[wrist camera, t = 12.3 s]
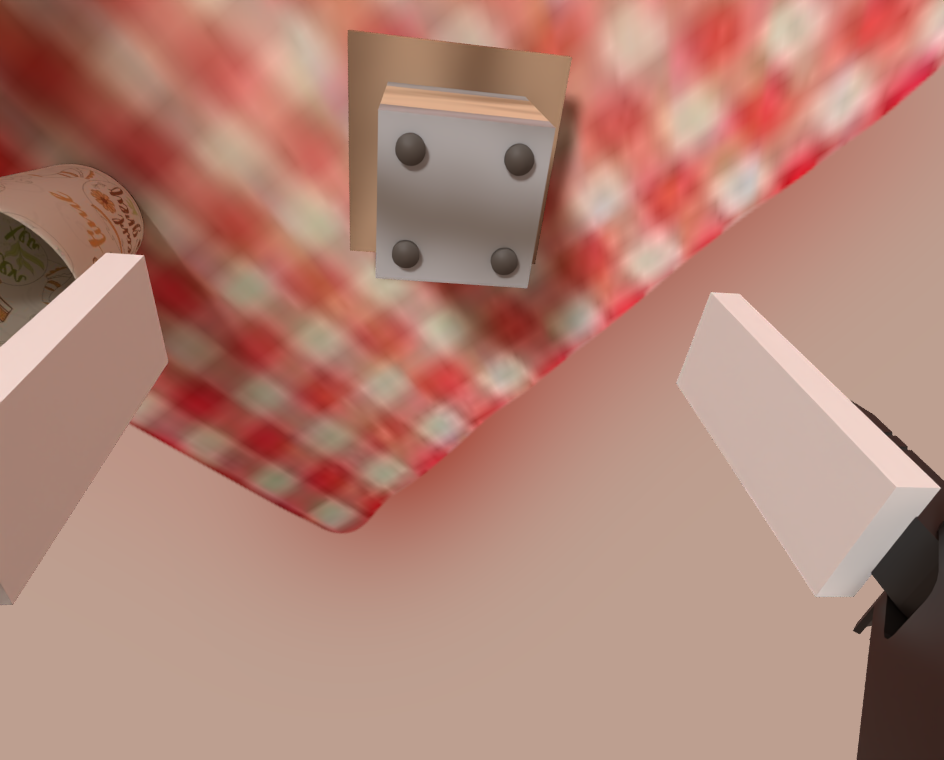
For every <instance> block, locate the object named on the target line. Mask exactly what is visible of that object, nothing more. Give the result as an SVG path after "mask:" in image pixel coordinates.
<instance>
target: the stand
mask: <svg viewBox="0 0 944 760" xmlns="http://www.w3.org/2000/svg"><path fill="white" fill-rule="evenodd" d="M571 60H572V57H570V56H562V55H554V54H546V53H537V52H529V51H521V50H512V49H504V48H496V47H487V46H479V45H471V44H462V43H454V42H446V41H437V40H429V39H421V38H412V37H404V36H396V35H387V34H379V33H371V32H362V31H354V30H348V100H349V188H350V250H352V251H366V252H376V225H377V157H378V109H379V106H380V103H381V100H382V97H383V94H384V92H385V89H386V86H387V83H388V82H396V83H405V84H414V85H423V86H433V87H442V88H451V89H460V90H469V91H478V92H487V93H496V94H505V95H515V96H524V97H526V98H527V99H528V100H529V101H530V102H531V103H532V104H533V105H534V106H535V107H536V108H537V109H538V110H539V111H540V112H541V113H542V114H543V115H544V117H545V118H546V119H547V120H548V121H549V122H550V123H551V124H552V125H553V126H554V127H555V128H556V129H555V135H554V140H553V146H552V152H551V157H550V163H549V169H548V174H547V180H546V186H545V191H544V197H543V203H542V208H541V214H540V220H539V225H538V231H537V236H536V242H535V248H534V253H533V259H532V264H535V260H536V254H537V249H538V243H539V238H540V232H541V226H542V221H543V215H544V210H545V204H546V199H547V193H548V188H549V182H550V177H551V171H552V166H553V160H554V154H555V149H556V143H557V138H558V132H559V127H560V121H561V116H562V110H563V105H564V99H565V93H566V88H567V82H568V77H569V71H570V66H571Z"/></svg>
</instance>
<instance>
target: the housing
mask: <svg viewBox="0 0 944 760" xmlns="http://www.w3.org/2000/svg"><path fill="white" fill-rule="evenodd" d="M555 129H556V128H555V127H554V126H553V125H552V124H551V123H550V122H549V121H548V120H547V119H546V118H545V117H544V115H543V114H542V113H541V112H540V111H539V110H538V109H537V108H536V107H535V106H534V105H533V104H532V103H531V102H530V101H529V100H528V99H527V98H526V97H524V96H515V95H505V94H496V93H487V92H478V91H469V90H460V89H451V88H442V87H433V86H423V85H414V84H405V83H396V82H388V83H387V86H386V89H385V92H384V94H383V97H382V100H381V103H380V106H379V109H378V157H377V225H376V278H383V279H397V280H412V281H427V282H441V283H456V284H471V285H486V286H500V287H515V288H527V287H528V282H529V276H530V270H531V265H532V259H533V253H534V248H535V242H536V236H537V231H538V225H539V220H540V214H541V208H542V203H543V197H544V191H545V186H546V180H547V174H548V169H549V163H550V157H551V152H552V146H553V140H554V135H555Z"/></svg>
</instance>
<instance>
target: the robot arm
mask: <svg viewBox="0 0 944 760" xmlns="http://www.w3.org/2000/svg"><path fill="white" fill-rule="evenodd" d="M167 363H168V357H167V353H166V348H165V344H164V340H163V335H162V331H161V327H160V322H159V318H158V313H157V309H156V305H155V300H154V296H153V292H152V287H151V283H150V278H149V274H148V270H147V265H146V261H145V257H144V255H132V254H117V253H105V254H104V255H103V256H102V257H101V258H100V259H99V260H98V261H97V262H95V263H94V264H93V265H92V266H91V267H90V268H89V269H88V270H86V271H85V272H84V273H83V274H82V275H81V276H80V277H79V278H77V279H76V280H75V281H74V282H73V283H72V284H71V285H70V286H68V287H67V288H66V289H65V290H64V291H63V292H62V293H61V294H59V295H58V296H57V297H56V298H55V299H54V300H53V301H52V302H50V303H49V304H48V305H47V306H46V307H45V308H44V309H43V310H41V311H40V312H39V313H38V314H37V315H36V316H35V317H34V318H32V319H31V320H30V321H29V322H28V323H27V324H26V325H25V326H23V327H22V328H21V329H20V330H19V331H18V332H17V333H16V334H14V335H13V336H12V337H11V338H10V339H9V340H8V341H7V342H6V343H4V344H3V345H2V346H1V347H0V605H13V604H14V602H15V601H16V599H17V598H18V596H19V594H20V593H21V591H22V590H23V588H24V587H25V585H26V584H27V582H28V580H29V579H30V577H31V576H32V574H33V573H34V571H35V570H36V568H37V566H38V565H39V563H40V562H41V560H42V559H43V557H44V555H45V554H46V552H47V551H48V549H49V548H50V546H51V544H52V543H53V541H54V540H55V538H56V537H57V535H58V534H59V532H60V531H61V529H62V527H63V526H64V524H65V523H66V521H67V520H68V518H69V516H70V515H71V513H72V512H73V510H74V509H75V507H76V506H77V504H78V502H79V501H80V499H81V498H82V496H83V495H84V493H85V491H86V490H87V488H88V487H89V485H90V484H91V482H92V480H93V479H94V477H95V476H96V474H97V473H98V471H99V470H100V468H101V466H102V465H103V463H104V462H105V460H106V459H107V457H108V456H109V454H110V452H111V451H112V449H113V448H114V446H115V445H116V443H117V441H118V440H119V438H120V437H121V435H122V434H123V432H124V431H125V429H126V427H127V426H128V424H129V423H130V421H131V420H132V418H133V417H134V415H135V413H136V412H137V410H138V409H139V407H140V406H141V404H142V402H143V401H144V399H145V398H146V396H147V395H148V393H149V392H150V390H151V388H152V387H153V385H154V384H155V382H156V381H157V379H158V377H159V376H160V374H161V373H162V371H163V370H164V368H165V367H166V365H167ZM676 384H677V385H678V387H679V388H680V390H681V391H682V393H683V394H684V396H685V398H686V399H687V401H688V402H689V403H690V405H691V407H692V408H693V410H694V411H695V413H696V414H697V416H698V417H699V419H700V421H701V422H702V424H703V425H704V427H705V428H706V430H707V431H708V433H709V434H710V436H711V437H712V439H713V441H714V442H715V444H716V445H717V447H718V448H719V450H720V451H721V453H722V454H723V456H724V457H725V459H726V461H727V462H728V463H729V465H730V467H731V468H732V470H733V471H734V473H735V474H736V476H737V477H738V479H739V480H740V482H741V484H742V485H743V486H744V488H745V490H746V491H747V493H748V494H749V496H750V497H751V498H752V500H753V502H754V503H755V505H756V507H757V508H758V509H759V511H760V513H761V514H762V516H763V517H764V519H765V520H766V522H767V523H768V525H769V526H770V528H771V530H772V531H773V533H774V534H775V535H776V537H777V539H778V540H779V542H780V543H781V545H782V546H783V548H784V550H785V551H786V553H787V554H788V556H789V557H790V559H791V560H792V562H793V563H794V565H795V566H796V568H797V569H798V571H799V573H800V574H801V575H802V577H803V579H804V580H805V582H806V583H807V585H808V586H809V588H810V589H811V591H812V592H813V594H814V596H815V597H852V596H853V597H854V596H855V595H856V593H857V592H858V591H859V590H860V588H861V587H862V586H863V585H864V583H865V582H866V581H867V580H868V578H869V577H870V576H871V575H873V576H874V578H875V579H876V580H877V581H878V583H879V584H880V585H881V587H882V588H883V589H884V592H883V593H882V594H881V595H880V596H879V598H878V599H877V600H876V601H875V602H874V604H873V605H872V606H871V607H870V608H869V609H868V611H867V612H866V613H865V614H864V615H863V617H862V618H861V619H860V620H859V621H858V623H857V624H856V626H855V628H854V630H853V631H855V632H857V633H858V634H860V633H861V632H862V631H863V630H864V629H865V628H866V627H867V626H872V629H871V637H870V646H869V655H868V664H867V673H866V682H865V692H864V700H863V709H862V717H861V726H860V735H859V744H858V753H857V760H944V480H942V479H941V478H940V477H939V476H938V475H937V474H936V473H935V472H934V471H933V470H932V469H931V468H930V467H929V466H928V465H926V463H924V462H923V461H922V460H921V459H920V458H919V457H918V456H917V455H916V454H915V453H914V452H913V451H912V450H907V446H906V445H905V444H904V443H903V442H902V441H901V440H900V439H899V438H898V437H897V436H893V435H892V431H890V430H889V429H888V428H887V427H886V426H885V425H884V424H883V423H882V422H881V421H880V420H879V419H878V418H877V417H876V416H875V415H873V414H872V413H870V412H869V411H867V410H865V409H864V408H862V407H861V406H859V405H857V404H855V403H854V402H852V401H851V400H849V399H848V398H847V397H846V396H845V395H844V394H843V393H842V392H841V391H840V390H839V389H838V388H837V387H836V386H835V385H833V384H832V383H831V382H830V381H829V380H828V379H827V378H826V377H825V376H824V375H823V374H822V373H821V372H820V371H819V370H818V369H817V368H816V367H815V366H814V365H813V364H811V362H810V361H809V360H808V359H806V358H805V357H804V356H803V355H802V354H801V353H800V352H799V351H798V350H797V349H796V348H795V347H794V346H793V345H792V344H791V343H790V342H789V341H788V340H787V339H786V338H785V337H783V335H781V333H779V332H778V331H777V330H776V329H775V328H774V327H773V326H772V325H771V324H770V323H769V322H768V321H767V320H766V319H765V318H764V317H763V316H762V315H761V314H760V313H759V312H758V311H756V309H755V308H754V307H752V306H751V305H750V304H749V303H748V302H747V301H746V300H745V299H744V298H743V297H742V296H741V295H740V294H730V293H716V292H715V293H714V292H711V293H710V296H709V298H708V301H707V304H706V306H705V309H704V311H703V314H702V317H701V319H700V322H699V325H698V327H697V330H696V332H695V335H694V338H693V341H692V343H691V346H690V348H689V351H688V354H687V356H686V359H685V362H684V364H683V367H682V369H681V372H680V374H679V377H678V380H677V383H676Z"/></svg>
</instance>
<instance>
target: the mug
mask: <svg viewBox="0 0 944 760" xmlns="http://www.w3.org/2000/svg"><path fill="white" fill-rule="evenodd" d="M143 234H144V226H143V219H142V216H141V213H140V210H139V208H138V206H137V204H136V202H135V201H134V199H133V198H132V197H131V195H130V194H129V193H128V192H127V190H126V189H125V188H124V187H123V186H122V185H120V184H119V183H118V182H117V181H116V180H114V179H113V178H111V177H110V176H108V175H107V174H105V173H103V172H101V171H99V170H97V169H94V168H91V167H88V166H84V165H78V164H61V165H55V166H50V167H45V168H40V169H36V170H31V171H26V172H22V173H17V174H12V175H8V176H3V177H0V347H1V346H2V345H3V344H4V343H6V342H7V341H8V340H9V339H10V338H11V337H12V336H13V335H14V334H16V333H17V332H18V331H19V330H20V329H21V328H22V327H23V326H25V325H26V324H27V323H28V322H29V321H30V320H31V319H32V318H34V317H35V316H36V315H37V314H38V313H39V312H40V311H41V310H43V309H44V308H45V307H46V306H47V305H48V304H49V303H50V302H52V301H53V300H54V299H55V298H56V297H57V296H58V295H59V294H61V293H62V292H63V291H64V290H65V289H66V288H67V287H68V286H70V285H71V284H72V283H73V282H74V281H75V280H76V279H77V278H79V277H80V276H81V275H82V274H83V273H84V272H85V271H86V270H88V269H89V268H90V267H91V266H92V265H93V264H94V263H95V262H97V261H98V260H99V259H100V258H101V257H102V256H103V255H104V254H105V253H117V254H132V255H135V254H136V252H137V251H138V249H139V247H140V245H141V242H142V239H143Z"/></svg>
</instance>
